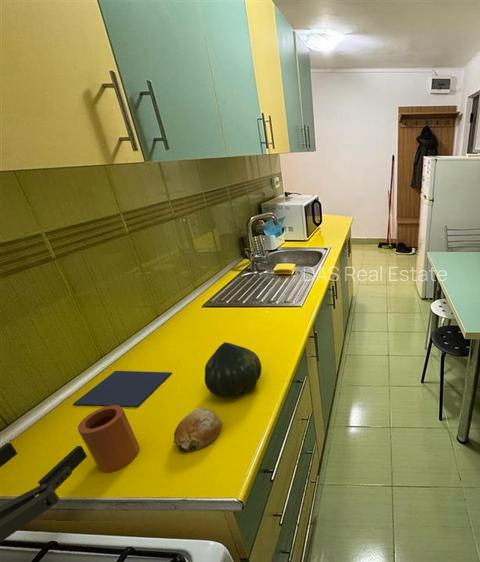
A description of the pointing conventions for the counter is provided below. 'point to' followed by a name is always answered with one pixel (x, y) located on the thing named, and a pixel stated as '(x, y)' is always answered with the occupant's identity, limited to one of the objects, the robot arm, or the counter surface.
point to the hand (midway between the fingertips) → (47, 449)
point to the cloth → (124, 389)
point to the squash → (232, 370)
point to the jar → (109, 438)
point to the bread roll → (197, 430)
